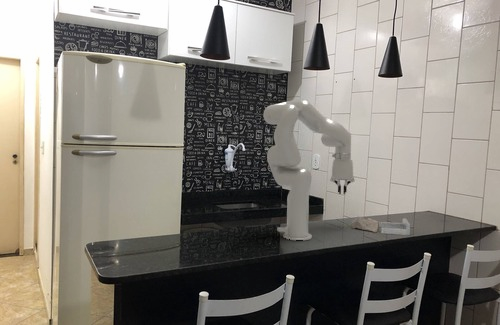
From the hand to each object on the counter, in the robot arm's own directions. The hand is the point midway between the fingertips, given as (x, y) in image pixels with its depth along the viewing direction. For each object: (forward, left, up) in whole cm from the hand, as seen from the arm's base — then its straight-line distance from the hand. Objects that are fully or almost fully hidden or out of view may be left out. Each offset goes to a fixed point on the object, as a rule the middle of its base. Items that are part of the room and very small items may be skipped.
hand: (342, 193), depth 199 cm
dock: (+25, 0, -17) cm, 30 cm away
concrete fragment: (+12, 0, -18) cm, 21 cm away
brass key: (+26, +14, -17) cm, 34 cm away
